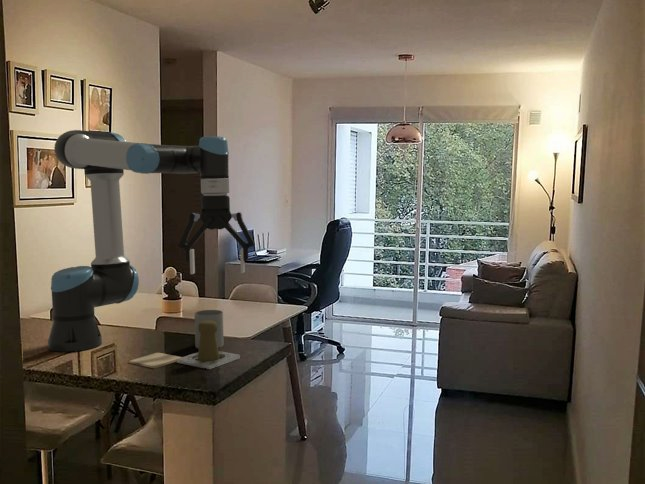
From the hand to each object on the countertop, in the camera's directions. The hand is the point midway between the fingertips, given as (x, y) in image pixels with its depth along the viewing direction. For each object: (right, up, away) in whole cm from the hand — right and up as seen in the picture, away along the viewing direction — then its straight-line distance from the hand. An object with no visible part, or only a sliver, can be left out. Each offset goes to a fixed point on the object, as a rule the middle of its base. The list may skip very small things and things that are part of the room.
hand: (217, 273), depth 171 cm
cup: (-5, -23, +17) cm, 29 cm away
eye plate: (-3, -24, +1) cm, 24 cm away
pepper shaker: (-3, -24, +1) cm, 24 cm away
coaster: (-17, -24, +1) cm, 30 cm away
